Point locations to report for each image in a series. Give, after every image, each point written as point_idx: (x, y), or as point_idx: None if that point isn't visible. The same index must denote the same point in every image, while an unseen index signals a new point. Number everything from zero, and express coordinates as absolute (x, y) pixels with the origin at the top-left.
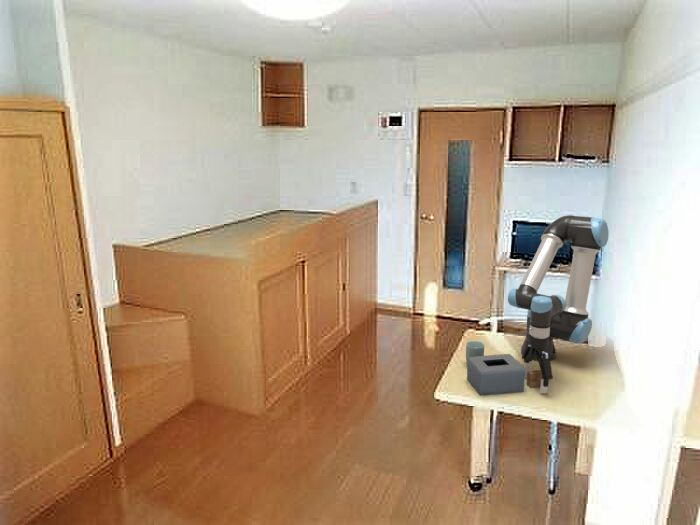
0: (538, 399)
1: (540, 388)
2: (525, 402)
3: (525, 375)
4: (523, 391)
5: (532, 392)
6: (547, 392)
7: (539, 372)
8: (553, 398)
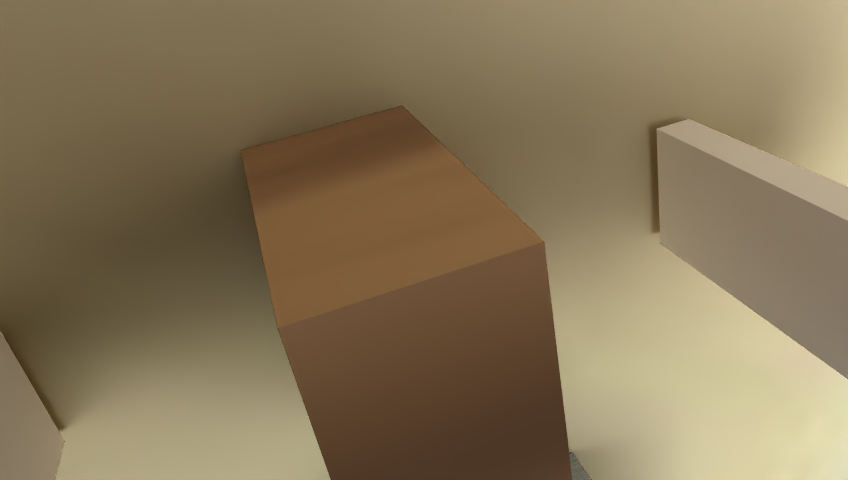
0: None
1: (722, 282)
2: (819, 436)
3: (43, 470)
4: (573, 456)
5: (601, 339)
6: (696, 122)
7: (495, 404)
8: (828, 47)
